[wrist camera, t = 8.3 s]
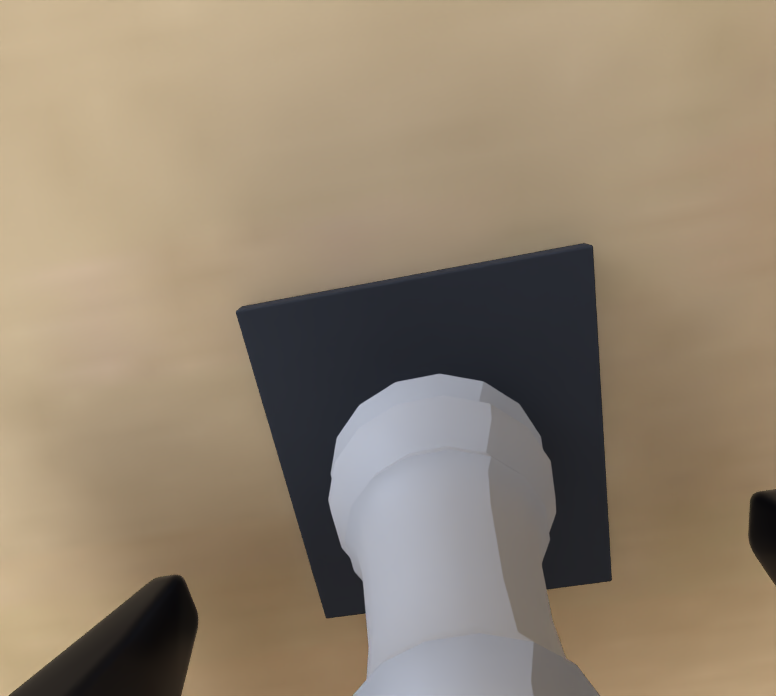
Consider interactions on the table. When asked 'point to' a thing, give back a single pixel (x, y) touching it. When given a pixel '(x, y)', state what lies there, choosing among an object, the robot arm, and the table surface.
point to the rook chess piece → (450, 542)
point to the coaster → (449, 357)
